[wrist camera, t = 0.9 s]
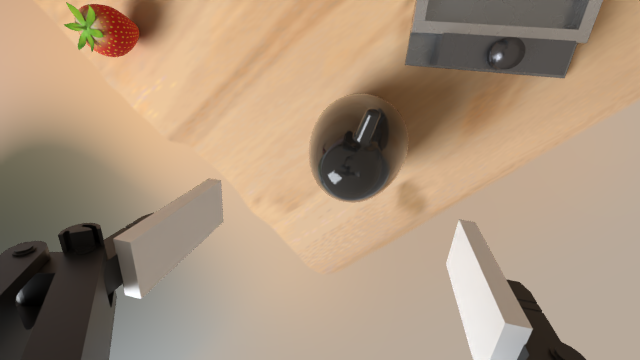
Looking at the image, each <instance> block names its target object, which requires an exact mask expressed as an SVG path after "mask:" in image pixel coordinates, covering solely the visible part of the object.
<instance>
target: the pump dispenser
mask: <svg viewBox="0 0 640 360" xmlns="http://www.w3.org/2000/svg"><path fill="white" fill-rule="evenodd" d="M408 144H409V139H408V131H407V127H406V124H405V122H404V120H403V118H402V116H401V114H400V113H399V112H398V110H397V109H396V108H395V107H394V106H393V105H391V104H390V103H389V102H387V101H386V100H384V99H382V98H380V97H377V96H374V95H370V94H351V95H347V96H344V97H342V98H340V99H338V100H336V101H334V102H333V103H332V104H330V105H329V106H328V107H327V108H326V109H325V110H324V111H323V112H322V113H321V115H320V116H319V118H318V120H317V122H316V124H315V126H314V129H313V131H312V135H311V139H310V145H309V161H310V167H311V171H312V174H313V176H314V178H315V180H316V182H317V184H318V185H319V186H320V188H321V189H322V190H323V191H324V192H325V193H326V194H328V195H329V196H331V197H332V198H334V199H337V200H339V201H343V202H362V201H365V200H368V199H371V198H373V197H375V196H377V195H378V194H380V193H381V192H382V191H384V190H385V189H386V188H387V187H388V186H389V185H390V184H391V183H392V182H393V180H394V179H395V178H396V177H397V175H398V174H399V172H400V170H401V168H402V166H403V164H404V162H405V159H406V156H407V152H408Z"/></svg>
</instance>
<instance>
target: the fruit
mask: <svg viewBox="0 0 640 360" xmlns="http://www.w3.org/2000/svg"><path fill="white" fill-rule="evenodd" d="M66 3H67V2H66ZM67 5H68V7H69V9H70V10H71V12H72V13H73V14H74V16H75V23H69V24H64V25H65V26H66V27H68V28H69V29H72V30H75V31H78V32H79V34H80V35H81V36H80V39H79V43H78V49H79V50H80V49H81V48H82V47H84V46H85V44H86V43H87V45H88V46H90V47H91V50H92V51H93V50H95V51H96V52H98V53H100V54H102V55H105V56H110V57H119V56H123V55H125V54H127V53H128V52H129V51H130V50H131V49H132V48H133V47H134V46H135V44H136V43H137V41H138V39H139V29H138V27H137V26H136V25H135V23H134V22H132V21H131V20H130V19H129V18H127V17H126V16H125V15H123V14H122V13H120V12H119V11H117V10H115V9H114V8H111V7H109V6H105V5H99V4H90V5H89V4H88V5H85V6H83V7H81V8H80V9H79V10H78V9H76V8H75V7H74V6H72V5H70V4H68V3H67Z"/></svg>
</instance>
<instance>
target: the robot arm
mask: <svg viewBox="0 0 640 360" xmlns="http://www.w3.org/2000/svg"><path fill="white" fill-rule="evenodd" d="M221 190H222V189H221V180H215V179H207V180H206V181H204V182H203V183H201V184H200V185H198V186H196V187H195V188H193V189H192V190H190V191H188V192H187V193H185V194H184V195H182V196H180V197H179V198H177V199H176V200H174V201H172V202H171V203H169V204H168V205H166V206H164V207H163V208H161V209H160V210H158V211H156V212H155V213H151V214H148V215H145V216H143V217H141V218H139V219H137V220H136V221H134V222H133V223H131V224H129V225H127V226H126V228H123V229H121V230H119V231H118V232H116V233H115V234H113V235H111V236H110V237H108V238H106V239H105V240H103V236H102V231H101V227H100V225H98V224H95V223H83V224H78V225H74V226H71V227H68V228H66V229H65V230H63V231H61V232H60V233H59V235H58V237H59V240H60V244H61V247H62V250H63V252H49V250H48V247H47V244H46V243H45V242H42V241H32V242H24V243H20V244H18V245H16V246H14V247H11V248H9V249H8V250H6V251H4V252H3V253H2V254H1V255H0V360H109V355H110V347H111V339H112V330H113V322H114V314H115V306H116V298H117V296H116V292H115V289H117V288H118V287H119V286H120V285H122V284H123V287H124V291H125V295H127V296H131V297H136V298H140V299H141V298H143V297H144V296H145V295H146V294H147V293H148V292H149V291H150V290H151V289H152V288H153V287H154V286H155V285H157V284H158V283H159V282H160V281H161V280H162V279H163V278H164V277H165V276H166V275H167V274H168V273H169V272H170V271H171V270H172V269H173V268H175V267H176V266H177V265H178V263H180V262H181V261H182V260H183V259H184V258H185V257H186V256H187V255H188V254H189V253H191V252H192V250H194V249H195V248H196V247H197V246H198V245H199V244H200V243H201V242H202V241H203V240H204V239H205V238H206V237H208V236H209V235H210V234H211V233H212V232H213V231H214V230H215V229H216V228H217V227H218V226H219V225H220V224H221V223H222V222H223V209H222V191H221ZM446 265H447V269H448V272H449V276H450V279H451V283H452V286H453V290H454V294H455V297H456V301H457V304H458V308H459V311H460V315H461V318H462V322H463V325H464V329H465V332H466V336H467V340H468V343H469V346H470V350H471V354H472V357H473V360H586V359H585V358H584V357H583V356H582V355H581V354H580V353H579V352H577V351H576V350H575V349H573V348H572V347H570V346H568V345H566V344H564V343H562V342H561V341H560V339H559V338H558V336H557V335H556V333H555V331H554V330H553V328H552V326H551V325H550V323H549V321H548V320H547V318H546V317H545V315H544V313H542V310H541V309H540V307H539V305H538V304H537V302H536V300H535V299H534V297H533V296H532V294H531V292H530V291H529V290H527V289H526V288H525V287H524V286H523V285H522V284H521V283H520V282H516V281H511V280H506V278H505V276H504V275H503V273H502V271H501V269H500V267H499V265H498V264H497V262H496V260H495V258H494V256H493V254H492V252H491V251H490V249H489V248H488V245H487V243H486V241H485V239H484V238H483V236H482V234H481V232H480V231H479V228H478V226H477V225H476V223H475V222H471V221H465V220H459V221H458V225H457V228H456V232H455V235H454V239H453V242H452V246H451V249H450V253H449V256H448V260H447V263H446ZM15 301H16V302H15Z"/></svg>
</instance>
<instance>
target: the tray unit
mask: <svg viewBox="0 0 640 360" xmlns="http://www.w3.org/2000/svg"><path fill="white" fill-rule="evenodd" d="M602 2H603V0H416V3H415V9H414V15H413V21H412V27H411V32H410V38H409V44H408V50H407V56H406V61H405V65H411V66H423V67H435V68H447V69H459V70H471V71H483V72H496V73H508V74H520V75H532V76H544V77H556V78H565V75H566V73H567V70H568V67H569V65H570V62H571V59H572V57H573V54H574V51H575V48H576V46H577V44H583V43H587V41H588V39H589V36H590V33H591V31H592V28H593V25H594V23H595V20H596V18H597V15H598V12H599V10H600V7H601V4H602Z"/></svg>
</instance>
